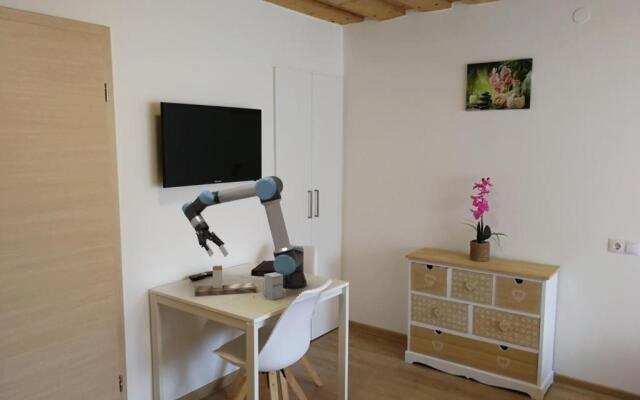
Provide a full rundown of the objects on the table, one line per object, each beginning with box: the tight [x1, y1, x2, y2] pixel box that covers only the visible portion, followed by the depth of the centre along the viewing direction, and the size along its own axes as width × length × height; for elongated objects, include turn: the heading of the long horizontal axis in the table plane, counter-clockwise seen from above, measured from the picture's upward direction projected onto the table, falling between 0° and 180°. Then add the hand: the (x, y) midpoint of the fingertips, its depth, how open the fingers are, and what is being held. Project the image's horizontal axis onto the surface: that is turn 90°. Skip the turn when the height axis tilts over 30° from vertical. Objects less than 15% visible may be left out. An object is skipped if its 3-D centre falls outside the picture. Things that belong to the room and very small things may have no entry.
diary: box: [250, 259, 277, 277], centre depth 325 cm, size 19×25×5 cm
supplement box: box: [263, 272, 284, 301], centre depth 271 cm, size 7×7×13 cm
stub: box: [212, 265, 223, 288], centre depth 279 cm, size 5×2×12 cm, turn 102°
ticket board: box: [194, 282, 258, 297], centre depth 281 cm, size 33×10×3 cm, turn 102°
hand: (219, 255), depth 277 cm, fingers open, 13 cm apart
